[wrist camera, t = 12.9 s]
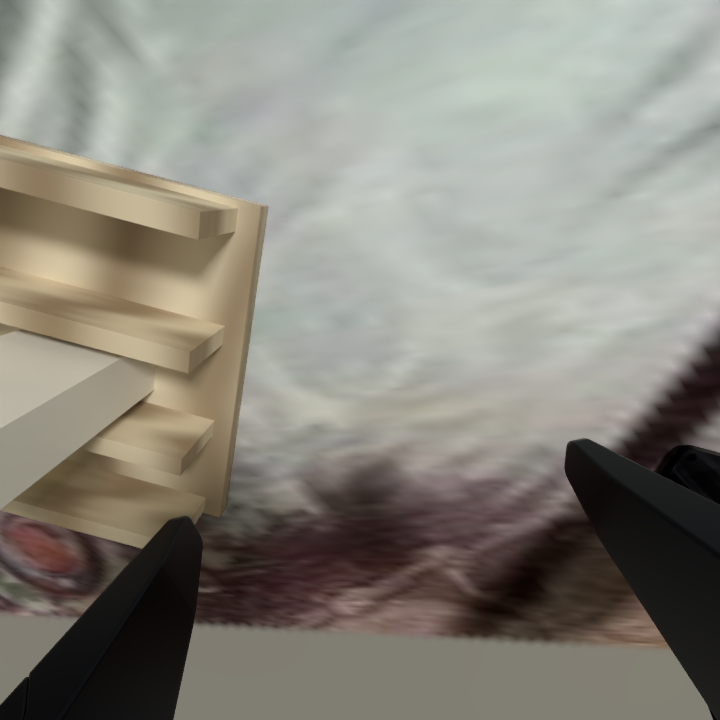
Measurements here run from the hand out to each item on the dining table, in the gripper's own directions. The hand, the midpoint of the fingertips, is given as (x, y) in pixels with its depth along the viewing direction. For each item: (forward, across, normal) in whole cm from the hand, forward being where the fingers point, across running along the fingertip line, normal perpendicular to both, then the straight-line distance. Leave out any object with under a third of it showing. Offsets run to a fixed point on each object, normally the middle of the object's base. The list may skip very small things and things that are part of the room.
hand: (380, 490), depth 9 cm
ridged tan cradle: (+14, +13, +1) cm, 19 cm away
